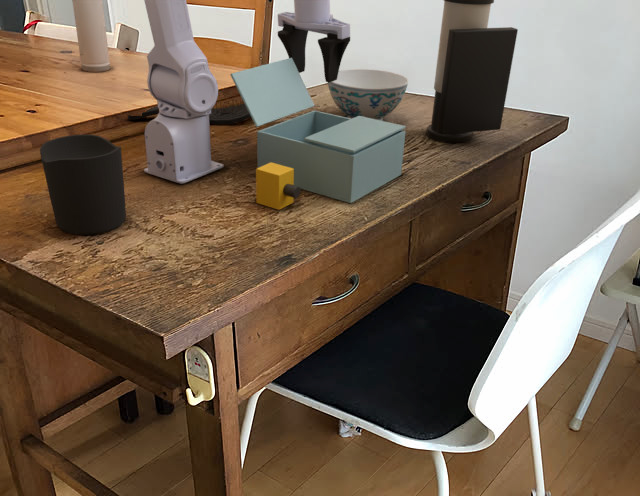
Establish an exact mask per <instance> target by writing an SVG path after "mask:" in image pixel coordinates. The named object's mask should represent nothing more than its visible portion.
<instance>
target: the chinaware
mask: <svg viewBox="0 0 640 496" xmlns="http://www.w3.org/2000/svg"><path fill="white" fill-rule="evenodd" d="M408 85H409V80H408V78H407V77H405V76H404V75H401V74H399V73H395V72H390V71H387V70H379V69H369V68H367V69H366V68H351V69H350V68H349V69H341V70H339V72H338V76H337V80H335V81H332V82H327V86H328V90H329V94H330V97H331V98H332V101H333V103H334V104H335V105H336V106H337V108H338V109H339V111H341V112H342V113H343V114H344V115H346V118H350V119H352V118H355V117H357V116H363V117H367V118H372V119H376V120H381V121H384V120H383V119H384V117H386V116H388V115H389V114H391V113H392V112H393V111H394V110H395V109H396V108H397V107H398V106H399V104H400V103H401V102H402V100H403V98H404V96H405V93H406V91H407V88H408Z"/></svg>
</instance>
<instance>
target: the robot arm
mask: <svg viewBox="0 0 640 496" xmlns="http://www.w3.org/2000/svg"><path fill="white" fill-rule="evenodd" d="M143 1H144V5H145V9H146V14H147V18H148V22H149V26H150V31H151V35H152V41H153V44H154V45H153V47H152V48H151V49H150V51H149V52H148V53H147V55H146V59H147V63H148V73H147V79H146V84H147V89H148V91H149V93H150V95H151V96H152V97H153V98H154V99H155V100H156V103H157V104H156V106H158V108H159V114H157V116H156V117H154V119H152V120H150V121H149V122H147V124H146V125H145V128H144V144H145V152H146V163H147V167H146V168H144V169H143V170H144V171H143V172H144V173H146V174H148V175H153V176H155V177H159V178H161V179H165V180H167V181H170V182H174V183H176V184H180V185H183V184H186V183H189V182H191V181H194V180H195V179H198V178H201V177H203V176H207V175H209V174H211V173H214V172H216V171H218V170H221V169H223V168H224V164H223V163H220V162H216V161H214V160H212V148H211V128H210V127H211V125H210V123H209V114H211V109H214V108H213V106H214V107H215V106H216V105H215V104H216V102H217V100H218V98H219V97H218V96H219V85H218V80H217V79H216V77H215V76H214V74H213V73H212V71H211V69H210V67H209V62H208V58H207V56H206V55H205V53H204V52H203V51H202V49H201V48H200V47H199V46H198V45H197V43H196V42H195V39H194V33H193V28H192V24H191V19H190V13H189V9H188V3H187V0H143ZM293 6H294V7H293V9H294V12H291V11H290V12H289V11H283V12H280V13H277V25H278V27H281V28H282V29H281V30H278V31H277V37H278V38H279V40H280V41H281V43H282V45H283V47H284V49H285V51H286V54H287V56H288V59H289V58H292V59H293V61H294V63H295V65H296V67H297V70H298V72H299V74H300V73H304V72H305V70H306V45H307V40H308V39H307V38H308V35H309V32H312V33H317V34H322V35H326V37H322V38H318V39H317V43H318V47H319V49H320V52H321V56H322V60H323V73H324V79H325V82H326V83H328V82H332V81H335V80H337V76H338V72H339V71H340V66H341V63H342V60H343V56H344V54H345V51H346V50H347V47H348V45H349V44H350V42H351V24H350V23H347V22H344V21H342V20H339V19H336V18H334V15H333V14H331V0H293Z"/></svg>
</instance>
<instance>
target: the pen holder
mask: <svg viewBox="0 0 640 496" xmlns="http://www.w3.org/2000/svg"><path fill="white" fill-rule="evenodd" d="M39 155H40V160H41V164H42V168H43V172H44V176H45V177H44V178H45V182H46V186H47V190H48V195H49V199H50V203H51V204H50V205H51V209H52V212H53V216H54V220H55V223H56V226H57V227H58V228H59V229H60V230H61V231H63V232H65V233H68V234H71V235H76V236H94V235H101V234H107V233H109V232H112V231H114V230H116V229H118V228H120V227H121V226H122V225H123V224H124V223H125V221H126V218H127V210H126V209H127V208H126V193H125V182H124V181H125V180H124V169H123V155H122V146H117V145H115V144H114V143H113V142H111V141H109V140H108V139H106V138H104V137H103V136H100V135H96V134H72V135H64V136H60V137H55V138H53V139H50V140H48V141H45V142H44V143H42V144H41V146H40V149H39Z"/></svg>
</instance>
